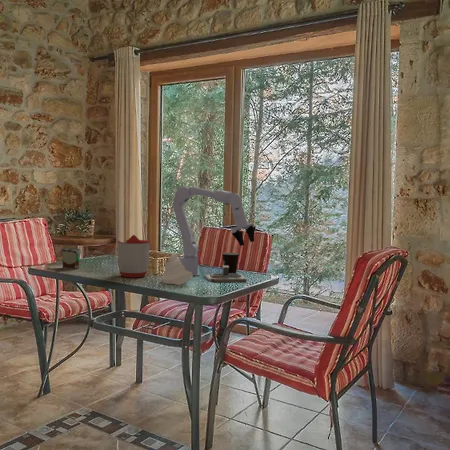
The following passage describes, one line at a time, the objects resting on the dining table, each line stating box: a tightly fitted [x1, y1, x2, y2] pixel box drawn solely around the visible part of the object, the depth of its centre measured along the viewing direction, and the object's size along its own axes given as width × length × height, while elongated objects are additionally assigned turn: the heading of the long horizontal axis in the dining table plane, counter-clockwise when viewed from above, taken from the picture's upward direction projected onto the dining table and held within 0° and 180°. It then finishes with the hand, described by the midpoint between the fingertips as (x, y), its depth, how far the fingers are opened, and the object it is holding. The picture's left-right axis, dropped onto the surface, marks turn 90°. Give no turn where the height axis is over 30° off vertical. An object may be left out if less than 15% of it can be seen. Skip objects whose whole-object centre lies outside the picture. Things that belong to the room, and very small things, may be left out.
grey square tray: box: [204, 273, 247, 283], centre depth 243 cm, size 16×17×1 cm
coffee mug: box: [221, 252, 240, 273], centre depth 263 cm, size 12×9×10 cm
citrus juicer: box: [116, 234, 151, 279], centre depth 244 cm, size 16×17×20 cm
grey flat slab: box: [204, 272, 247, 282], centre depth 243 cm, size 18×12×2 cm, turn 102°
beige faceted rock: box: [160, 252, 193, 286], centre depth 230 cm, size 12×15×14 cm
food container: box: [60, 247, 82, 270], centre depth 263 cm, size 12×6×10 cm, turn 58°
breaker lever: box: [221, 265, 230, 275], centre depth 243 cm, size 4×3×5 cm
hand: (247, 243), depth 248 cm, fingers open, 7 cm apart
